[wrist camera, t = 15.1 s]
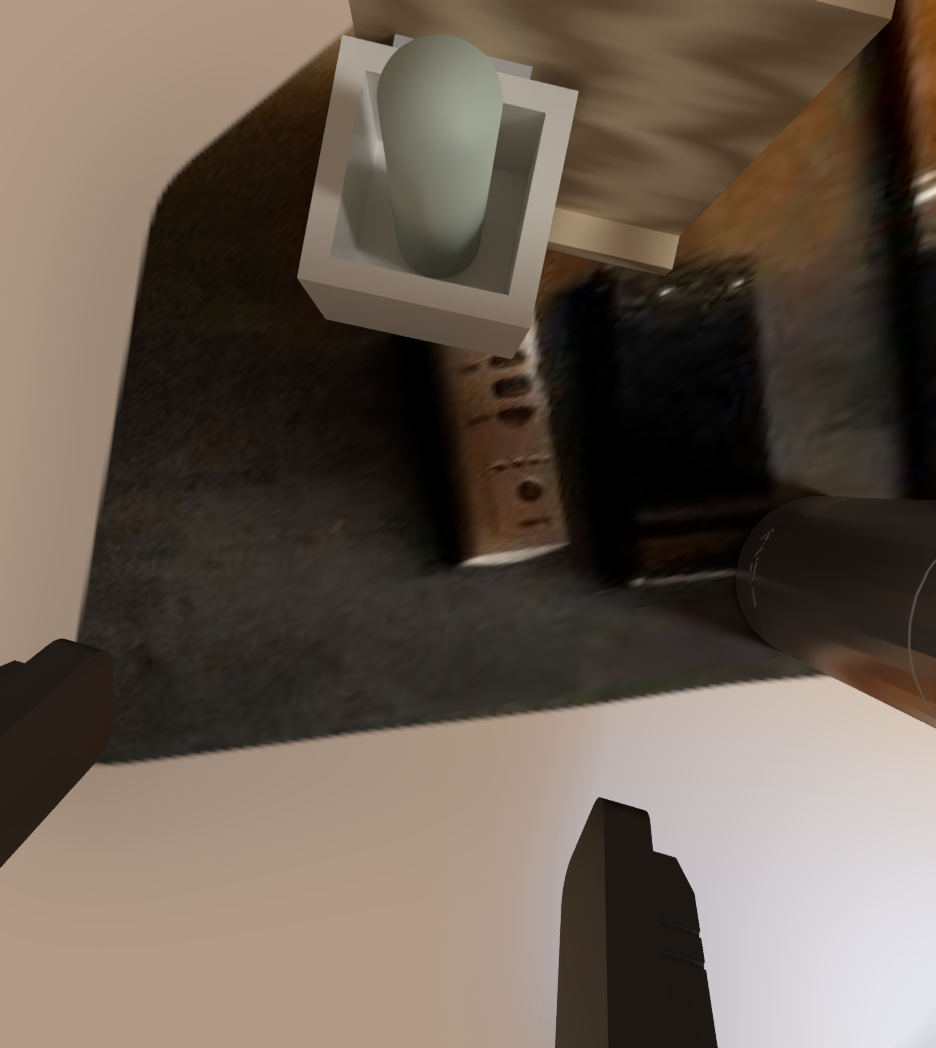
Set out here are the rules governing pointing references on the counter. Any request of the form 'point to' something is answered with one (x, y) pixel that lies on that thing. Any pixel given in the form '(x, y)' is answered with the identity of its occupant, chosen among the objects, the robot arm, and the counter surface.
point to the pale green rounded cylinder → (439, 148)
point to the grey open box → (369, 228)
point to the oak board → (651, 96)
